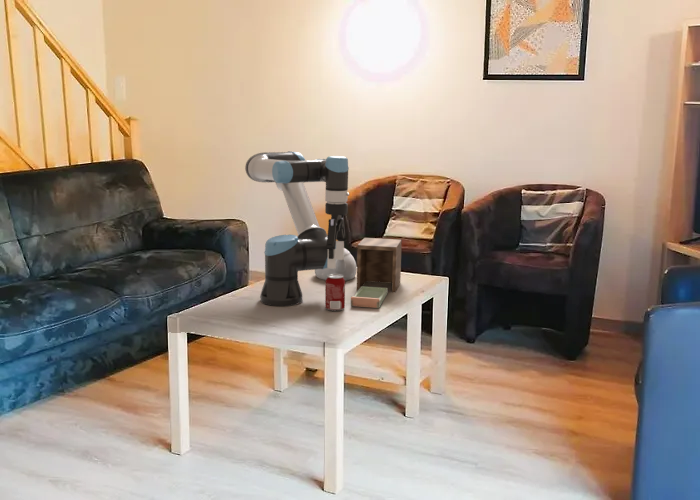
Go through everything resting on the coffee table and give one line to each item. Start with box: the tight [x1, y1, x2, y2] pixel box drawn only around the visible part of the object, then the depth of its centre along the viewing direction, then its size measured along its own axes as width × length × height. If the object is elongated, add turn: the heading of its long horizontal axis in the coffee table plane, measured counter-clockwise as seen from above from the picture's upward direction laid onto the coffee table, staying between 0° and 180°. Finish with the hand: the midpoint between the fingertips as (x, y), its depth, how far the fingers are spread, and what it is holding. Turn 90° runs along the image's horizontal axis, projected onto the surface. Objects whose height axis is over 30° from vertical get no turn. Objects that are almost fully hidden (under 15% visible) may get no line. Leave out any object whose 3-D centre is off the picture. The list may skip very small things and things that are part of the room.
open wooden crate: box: [356, 237, 403, 293], centre depth 304 cm, size 15×15×18 cm
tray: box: [350, 285, 388, 309], centre depth 285 cm, size 10×20×3 cm, turn 169°
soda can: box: [324, 274, 346, 312], centre depth 272 cm, size 7×7×12 cm
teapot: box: [314, 247, 357, 282], centre depth 319 cm, size 19×18×14 cm
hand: (335, 263), depth 270 cm, fingers open, 13 cm apart
